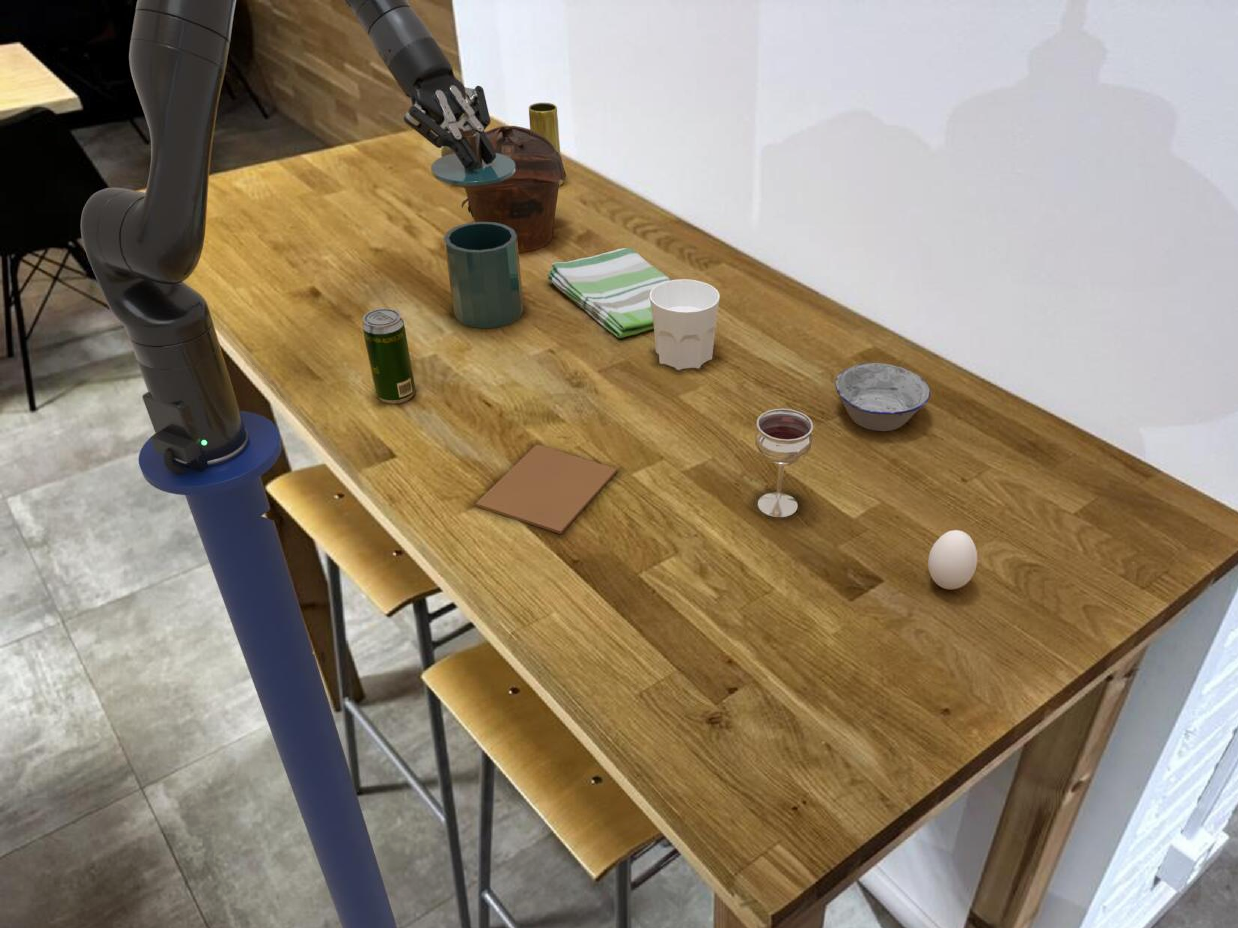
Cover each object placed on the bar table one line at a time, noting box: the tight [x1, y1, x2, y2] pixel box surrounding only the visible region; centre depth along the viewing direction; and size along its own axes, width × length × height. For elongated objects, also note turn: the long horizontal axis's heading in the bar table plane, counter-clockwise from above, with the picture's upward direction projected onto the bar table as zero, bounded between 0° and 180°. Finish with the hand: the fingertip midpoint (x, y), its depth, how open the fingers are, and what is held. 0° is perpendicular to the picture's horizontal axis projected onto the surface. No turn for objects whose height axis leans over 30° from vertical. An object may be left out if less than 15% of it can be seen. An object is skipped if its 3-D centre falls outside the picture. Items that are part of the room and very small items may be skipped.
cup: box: [650, 278, 721, 371], centre depth 157 cm, size 10×10×10 cm
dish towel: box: [547, 247, 672, 339], centre depth 172 cm, size 17×23×4 cm
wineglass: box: [754, 408, 814, 518], centre depth 129 cm, size 7×7×12 cm
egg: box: [927, 529, 978, 590], centre depth 121 cm, size 5×5×8 cm
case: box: [461, 125, 567, 253], centre depth 183 cm, size 18×20×18 cm
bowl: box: [834, 362, 931, 432], centre depth 148 cm, size 13×13×5 cm
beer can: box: [361, 308, 416, 405], centre depth 146 cm, size 5×5×12 cm
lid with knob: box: [430, 130, 516, 187], centre depth 149 cm, size 12×12×6 cm
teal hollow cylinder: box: [443, 221, 524, 329], centre depth 164 cm, size 11×11×12 cm
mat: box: [475, 444, 618, 535], centre depth 134 cm, size 14×12×1 cm
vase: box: [528, 102, 565, 187], centre depth 204 cm, size 6×6×14 cm
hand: (483, 163), depth 149 cm, fingers closed on lid with knob, 2 cm apart
